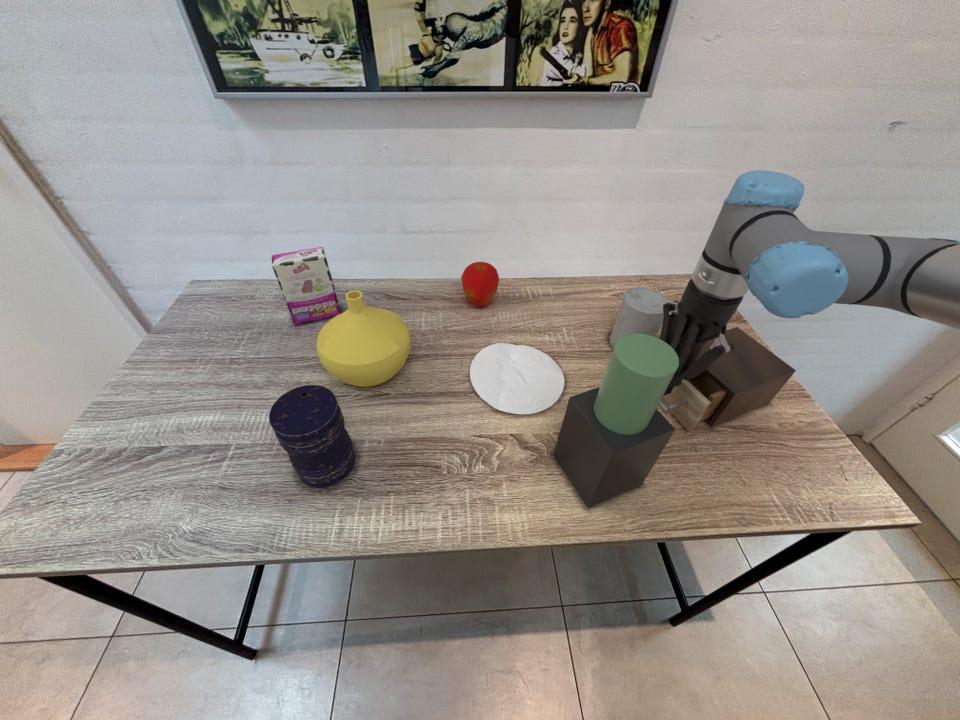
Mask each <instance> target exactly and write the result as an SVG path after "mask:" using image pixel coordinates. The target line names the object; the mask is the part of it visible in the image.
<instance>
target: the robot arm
mask: <svg viewBox="0 0 960 720" xmlns="http://www.w3.org/2000/svg"><path fill="white" fill-rule="evenodd" d="M804 195H805V185H804V184H803V182H802V181H801V180H799V179H798V178H795V176H792V175H789V174H786V173H783V172H778V171H773V170H763V169H756V170H755V169H754V170H749V171H746V172H744V173H742V174H740V175H739V176H738V177H737V178H736V179H735V181H734V183H733V185H732V187H731V189H730V191H729V193H728V195H727V197H726V198H725V199H724V200H723V202H722V204H723V205H722V206H721V209H720V211H719V213H718V215H717V218H716V220H715V222H714V225H713V226H712V229H711V232H710V234H709V236H708V238H707V241H706V243H705V246H704V248H703V250H702V251H701V254H700V256H699V259H698V261H697V263H696V265H695V267H694V270H693V272H692V273H691V278H690V279H689V280H688V282H687V285H686V286H685V289H684V291H683V293H682V296H681V298H680V301H679V300H673V301H669V303H666V304H664V305H663V313H664V319H663V322H662V324H661V328H660V329H661V330H660V335H659V339H661V340H662V341H664V342H666V343H667V344H668V345H670V346H671V347H672V348H673V349H674V350H675V352H676V353H677V355H678V358H679V366H678V368H677V370H676V372H675V374H674V376H673V378H672V380H671V382H670V384H669V385H668V387H667V389H666V391H665V393H664V395H667V394H670V393H671V392H672V390H673V388H674V387H676V386H679V385H680V384H681V382H682V380H683V379H684V380H689V379H691V378H694V377H697V376H699V375H700V374H701V373H702V372H703V371H704V370H705V369H707V368H708V367H709V366H710V365H711V364H712V363H713V362H714V361H716V360H717V359H718V358H719V357H720V356H721V355H722V354H724V353H727V352H730V351H733V350H734V345H733V344H731V343H727V341H726V339H725V336H724V334H725V333H726V330H728V329H727V326H728V323H729V322H730V321H731V319H732V318H733V317H734V315H735V313H736V311H737V310H738V308H739V306H740V305H741V302H743V299H744V296H745V295H746V294H747V293H748V291H750V293H751V294H752V297H753V296H754V297H755V298H756V300H758V301H759V302H760V303H761V305H762V306H763V307H764V309H765V310H766V311H767V312H768V313H770V314H772V315H774V316H776V317H779V318H784V319H800V318H801V317H802V316H808V315H811V316H812V315H815V314H817V313H820V312H823V311H824V310H826V309H828V308H829V307H832V305H835V304H836V305H850V306H851V305H855V306H856V305H857V306H867V307H875V308H883V309H888V310H893V311H896V312H898V313H903V314H906V315H909V316H912V317H916V318H920V319H924V320H928V321H931V322H934V323H938V324H940V325H943V326H947V327H950V328H954V329H956V330H960V240H957V239H951V238H950V239H949V238H935V237H929V238H927V237H926V238H920V237H906V236H891V235H890V236H889V235H874V234H864V233H853V232H852V233H850V232H836V231H820V230H813V229H810V228H809V227H808V226H807V225H805V224H804V222H803V221H801V219H799V218H798V216H797V215H796V214H795V211H796V210H797V209H799V207H800V205H801V201H802V199H803V197H804ZM710 339H715V341H714V343H712V346H710V350H708V351H707V352H705V353H704V354H703V355H702V356H701V357H700V358H699V359H698V360H697V361H696V362H695V360H696V358H697V356H698V354H699V353H700V351H701V349H702V347H703V345H704V344H705V343H707V341H708V340H710ZM694 362H695V363H694ZM693 363H694V364H693ZM664 395H663V396H664Z"/></svg>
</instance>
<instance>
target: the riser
mask: <svg viewBox="0 0 960 720" xmlns="http://www.w3.org/2000/svg"><path fill="white" fill-rule="evenodd" d="M599 389H600V386H598V387H595V388H593V389H590V390H586V391H583V392H580V393H577V394H573V395H571V396H569V398H568V401H567V403H566V404H567V405H566V407H565V408H566V409H565V411H564V416H563V419H562V423H561V426H560V430H559V433H558V437H557V441H556V443H555V444H556V445H555V448H554V451H553V456H554V459H556V461H557V463H558V464H559V466H560V467H561V469H562V470H563V472H564V474H565V475H566V476H567V478H568V480H569V482H570V483H571V485H573V487H574V489H575V491H576V492H577V494H578V495H579V497H580V498H581V501H583V503H584V505H585V507H586V508H587V509H590V508H592V507H594V506H595V507H596V506H597V505H599V504H602V503H604V502H606V501H608V500H611V499H613V498H615V497H618V496H619V495H622V494H625V493H626V492H629V491H631V490H633V489H636V488H638V487H640V486H642V485H643V483H644V482H645V480H646V478H647V477H648V475H649V474H650V472H651V470H652V469H653V467H654V466H655V464H656V462H657V460H658V459H659V457H660V456H661V454H662V452H664V449H665V448H666V446H667V444H668V443H669V441H670V440H671V438H672V436H673V435H674V433H675V431H676V428H675V427H674V426H673V425H672V424H671V423H670V421H669V420H668V419H667V418H666V417H665V416H664V415H663V414H662V413H661V412H660V411H659V409H658V408H656V410H655V412H654V414H653V416H652V418H651V420H650V422H649V424H648V426H647V427H646V428H645V429H644V430H643V431H642V432H640V433H637V434H632V435H624V434H619V433H616V432H613V431H611V430H609V429H608V428H606V427H605V426H604V425H602V424H601V423H600V421H599V420H598V419H597V417H596V415H595V413H594V403H595V400H596V397H597V394H598V392H599Z"/></svg>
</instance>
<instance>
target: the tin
mask: <svg viewBox="0 0 960 720" xmlns="http://www.w3.org/2000/svg"><path fill="white" fill-rule="evenodd" d="M678 366H679V358H678V355H677V353H676V352H675V350H674V349H673V348H672V347H671V346H670V345H668V344H667V343H666V342H664V341H662V340H661V339H660V338H658V337H657V336H656V337H653V336H650V335H646V334H629V335H625V336H623V337H621V338H620V339H618V341H617V342H616V343H615V346H614V348H613V349H612V351H611V355H610V358H609V360H608V363H607V366H606V368H605V372H604V375H603V377H602V380H601V383H600V386H599V387H600V389H599V392H598V394H597V397H596V400H595V403H594V413H595V415H596V417H597V419H598V420H599V421H600V423H601V424H602V425H604V426H605V427H606V428H608V429H609V430H611V431H613V432H616V433H619V434H624V435H632V434H637V433H640V432H642V431H643V430H644V429H645V428H646V427H647V426H648V424H649V422H650V420H651V418H652V416H653V414H654V412H655V410H656V409H658V407H659V406H658V405H659V403H660V401H661V399H662V397H663V395H664V393H665V391H666V389H667V387H668V385H669V384H670V382H671V380H672V378H673V376H674V374H675V372H676V370H677V368H678Z"/></svg>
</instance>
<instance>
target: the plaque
mask: <svg viewBox="0 0 960 720" xmlns="http://www.w3.org/2000/svg"><path fill="white" fill-rule="evenodd" d="M469 379H470V382H471V385H472V387H473V389H474V391H475V392H476V393H477V395H478V397H480V398H481V400H482V401H484V402H485V403H486V404H488V405H489V406H491V407H492V408H493V409H495V410H498V411H501V412H504V413H508V414H512V415H513V414H514V415H533V414H536V413H537V414H538V413H540V412H542V411H545V410H547V409H549V408H550V407H552V406H553V405H555V404H556V402H558V400H559V399H560V398H561V396H562V393H563V392H564V388H565V375H564V372H563V370H562V369H561V367H560V366H559V365H558V363H557V362H556V361H555V359H553V358H552V357H551V356H550V355H548V354H546V352H544V351H541V350H539V349H537V348H535V347H532V346H529V345H525V344H513V343H503V342H496V343H493V344H490V345H488V346H486V347H484V348H482V349H481V350H480V351H479V352H478V353H476V354H475V356H474V357H473V359H472V362H471V364H470V366H469Z"/></svg>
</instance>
